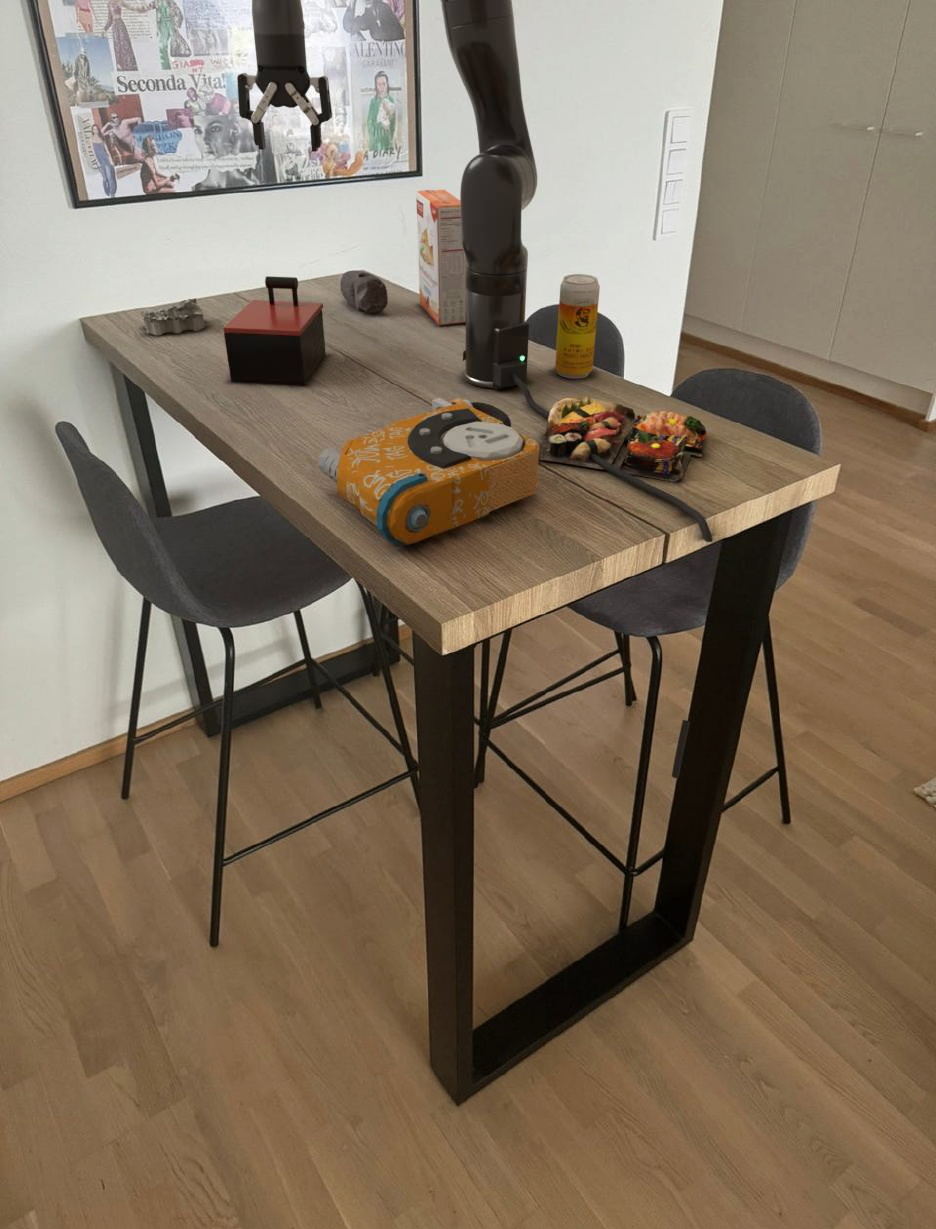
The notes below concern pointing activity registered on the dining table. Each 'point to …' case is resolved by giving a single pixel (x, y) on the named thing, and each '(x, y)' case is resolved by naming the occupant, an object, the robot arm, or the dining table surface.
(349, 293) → the perforated stone tool
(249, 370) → the black open box
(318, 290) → the dining table surface
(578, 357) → the beer can
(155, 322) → the egg carton
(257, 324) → the lid
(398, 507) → the device
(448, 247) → the cracker box
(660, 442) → the food
